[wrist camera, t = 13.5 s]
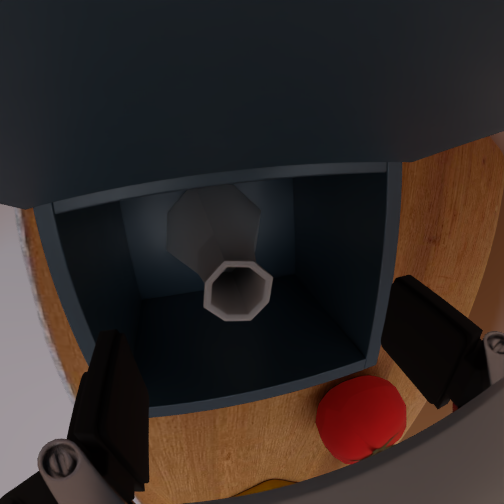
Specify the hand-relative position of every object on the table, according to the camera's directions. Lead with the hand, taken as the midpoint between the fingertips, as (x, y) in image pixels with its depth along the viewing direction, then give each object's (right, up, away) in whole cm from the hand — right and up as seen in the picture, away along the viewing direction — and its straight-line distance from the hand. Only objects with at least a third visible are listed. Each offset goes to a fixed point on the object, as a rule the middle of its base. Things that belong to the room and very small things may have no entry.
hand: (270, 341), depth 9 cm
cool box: (-4, +5, +14) cm, 15 cm away
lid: (0, +5, -6) cm, 8 cm away
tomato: (+11, -16, +26) cm, 33 cm away
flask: (-4, +5, +13) cm, 14 cm away
